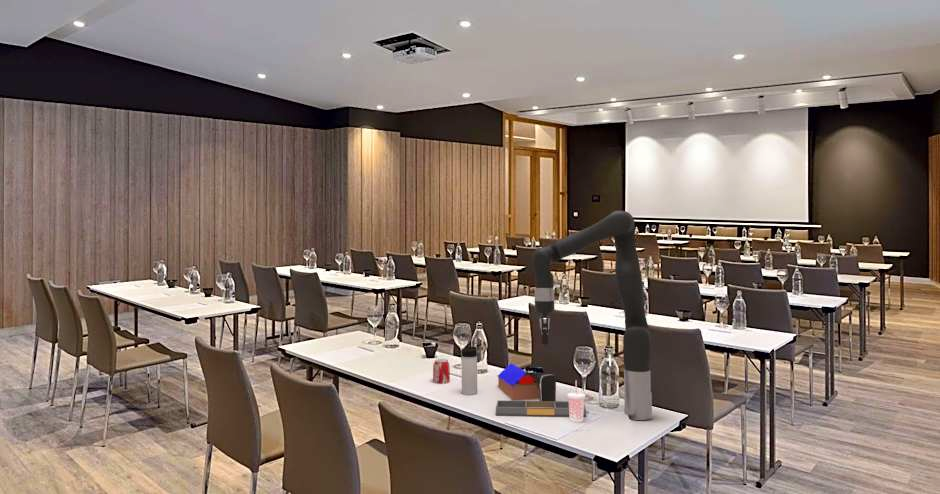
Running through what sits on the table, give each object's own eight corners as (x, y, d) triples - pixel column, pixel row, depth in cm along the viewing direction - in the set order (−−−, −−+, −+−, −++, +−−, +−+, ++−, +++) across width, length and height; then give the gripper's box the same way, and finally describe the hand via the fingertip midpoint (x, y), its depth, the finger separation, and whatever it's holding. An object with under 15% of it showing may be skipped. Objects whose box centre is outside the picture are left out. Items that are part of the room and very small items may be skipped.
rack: (583, 409, 242) (583, 401, 242) (586, 417, 232) (585, 408, 232) (497, 408, 245) (497, 400, 245) (495, 415, 235) (495, 407, 235)
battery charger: (550, 401, 254) (550, 372, 254) (556, 403, 251) (556, 374, 251) (536, 404, 250) (535, 374, 250) (542, 406, 247) (542, 376, 247)
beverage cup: (576, 423, 224) (576, 382, 224) (563, 419, 229) (563, 379, 229) (589, 420, 227) (588, 380, 227) (576, 416, 232) (576, 377, 232)
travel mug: (481, 397, 263) (480, 347, 262) (469, 400, 258) (469, 349, 258) (469, 394, 267) (469, 345, 267) (458, 397, 262) (458, 347, 262)
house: (524, 389, 276) (524, 362, 275) (541, 401, 256) (541, 371, 256) (497, 391, 273) (497, 364, 272) (512, 403, 253) (512, 373, 253)
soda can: (449, 390, 275) (449, 361, 275) (432, 390, 275) (432, 362, 275) (450, 386, 282) (449, 358, 282) (433, 386, 282) (433, 359, 282)
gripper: (554, 301, 242) (555, 346, 243) (553, 297, 257) (554, 340, 257) (534, 301, 243) (535, 345, 243) (534, 297, 257) (534, 340, 258)
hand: (544, 342), depth 250 cm, fingers open, 6 cm apart
